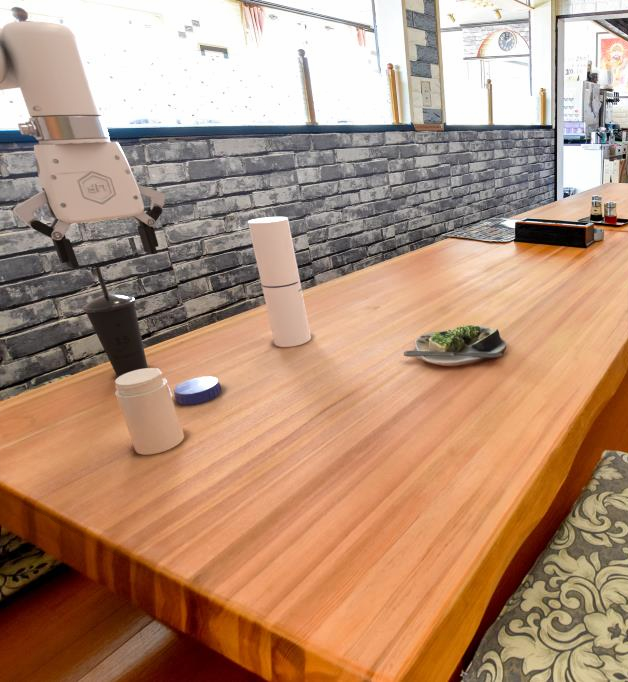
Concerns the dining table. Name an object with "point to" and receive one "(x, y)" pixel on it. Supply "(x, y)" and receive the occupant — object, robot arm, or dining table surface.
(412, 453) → the dining table surface
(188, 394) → the lid
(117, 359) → the drinking cup
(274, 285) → the cylindrical container
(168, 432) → the jar
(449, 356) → the salad plate
